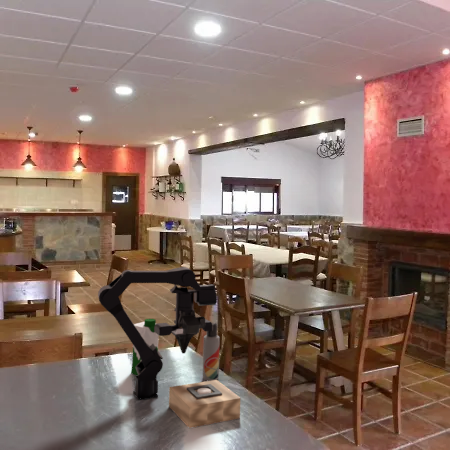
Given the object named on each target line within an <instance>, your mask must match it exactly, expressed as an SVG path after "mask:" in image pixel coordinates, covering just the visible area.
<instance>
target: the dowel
mask: <svg viewBox="0 0 450 450" xmlns="http://www.w3.org/2000/svg"><path fill="white" fill-rule="evenodd" d="M197 393H199V394H200V395H201V394H207V393H211V390H210V389H208V388H200V389H198V390H197Z"/></svg>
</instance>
